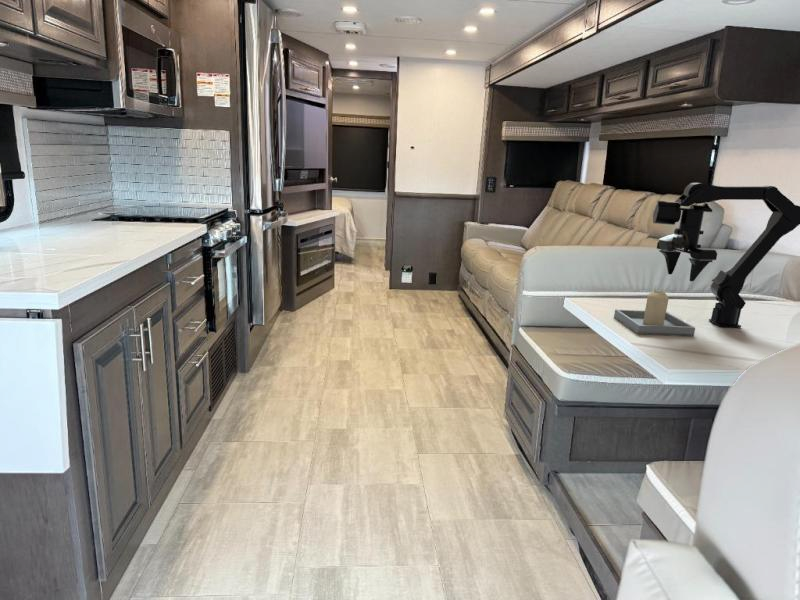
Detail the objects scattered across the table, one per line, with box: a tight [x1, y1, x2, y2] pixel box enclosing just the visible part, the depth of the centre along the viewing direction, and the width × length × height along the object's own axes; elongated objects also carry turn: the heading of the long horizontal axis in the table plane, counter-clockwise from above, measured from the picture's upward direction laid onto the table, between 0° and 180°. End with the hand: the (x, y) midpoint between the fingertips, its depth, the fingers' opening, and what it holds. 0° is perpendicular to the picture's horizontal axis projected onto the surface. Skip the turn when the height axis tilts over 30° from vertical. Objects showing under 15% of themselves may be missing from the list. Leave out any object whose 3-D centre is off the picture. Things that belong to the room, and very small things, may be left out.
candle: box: [643, 289, 670, 326], centre depth 159 cm, size 6×6×10 cm
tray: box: [613, 309, 696, 337], centre depth 160 cm, size 16×16×2 cm
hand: (680, 277), depth 167 cm, fingers open, 9 cm apart
